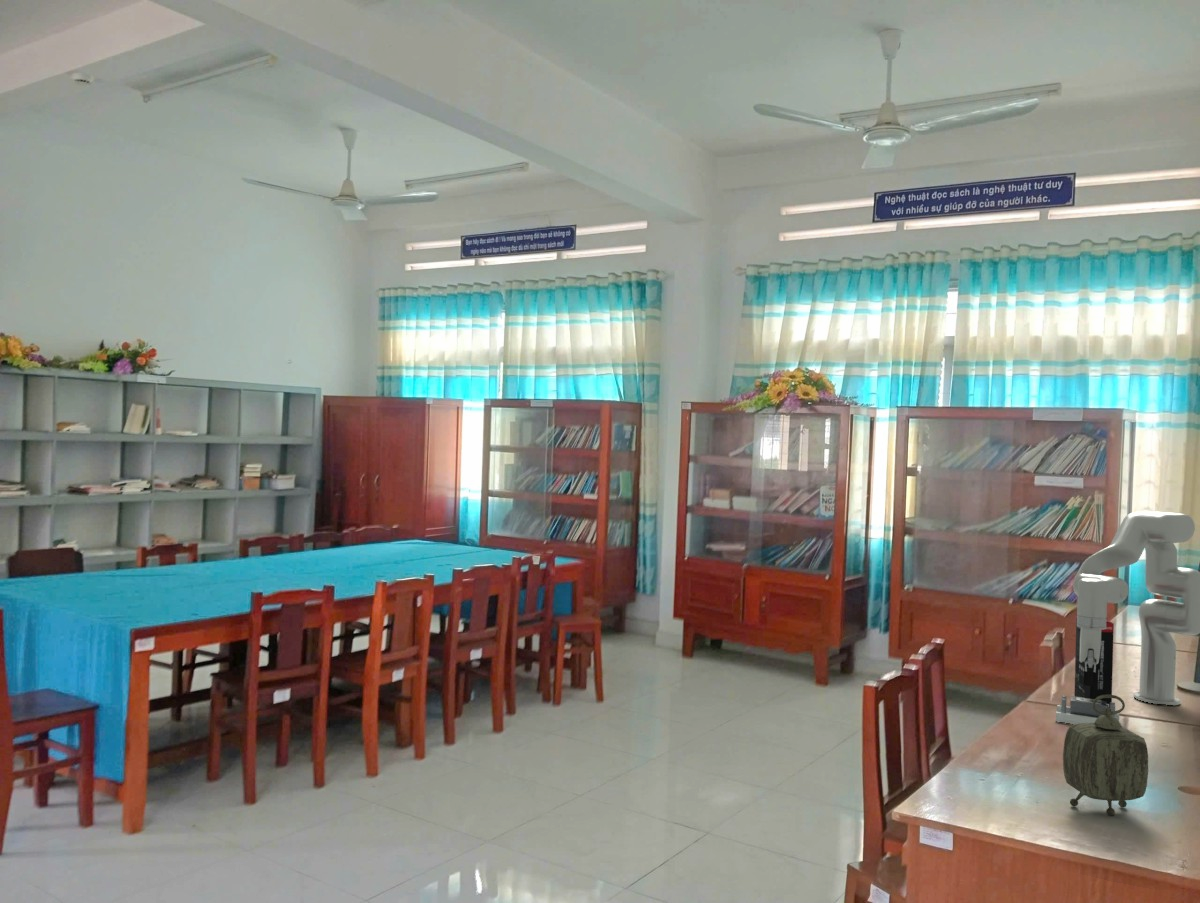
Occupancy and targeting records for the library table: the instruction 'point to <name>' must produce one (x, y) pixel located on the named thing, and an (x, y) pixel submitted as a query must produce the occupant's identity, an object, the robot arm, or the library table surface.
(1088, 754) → the tabletop clock
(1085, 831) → the library table surface
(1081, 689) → the graphics card box
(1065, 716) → the white and grey device
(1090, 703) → the block
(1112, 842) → the library table surface
